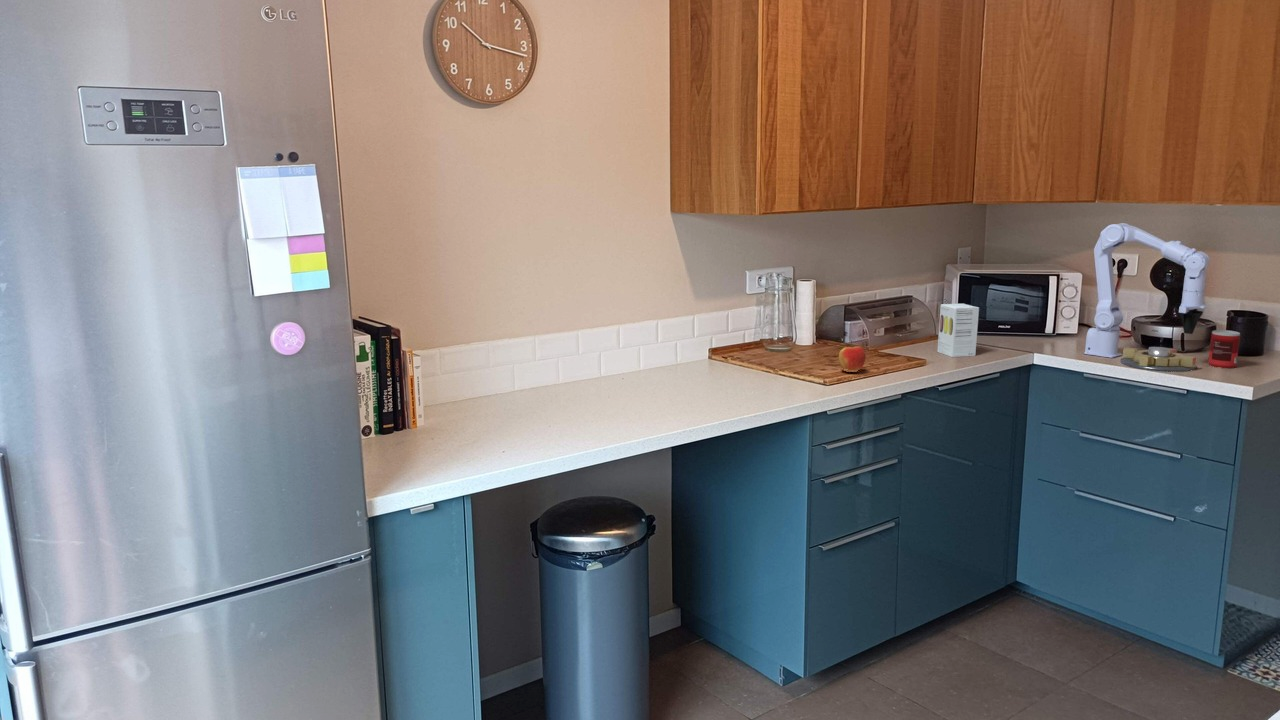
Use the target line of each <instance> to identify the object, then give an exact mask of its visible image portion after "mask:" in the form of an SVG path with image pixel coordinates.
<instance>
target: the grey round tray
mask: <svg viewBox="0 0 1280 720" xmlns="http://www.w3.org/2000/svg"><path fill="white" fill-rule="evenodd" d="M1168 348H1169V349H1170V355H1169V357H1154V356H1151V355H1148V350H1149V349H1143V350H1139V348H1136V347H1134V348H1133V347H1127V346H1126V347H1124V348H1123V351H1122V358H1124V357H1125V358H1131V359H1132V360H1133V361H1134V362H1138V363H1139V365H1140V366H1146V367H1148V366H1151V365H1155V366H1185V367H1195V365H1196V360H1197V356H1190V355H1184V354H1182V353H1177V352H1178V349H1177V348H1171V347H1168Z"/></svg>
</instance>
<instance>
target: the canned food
mask: <svg viewBox="0 0 1280 720" xmlns="http://www.w3.org/2000/svg"><path fill="white" fill-rule="evenodd" d="M1240 338H1241V333H1240V332H1238V331H1234V330H1227V329H1226V330H1225V329H1214V330H1212V331H1211V336H1210V342H1209V343H1210V345H1209V350H1208V353H1209V354H1208V360H1207V361H1208V362H1207V363H1208V365H1209V366H1210V365H1211V366H1210V367H1213V366H1214V368H1218V367H1222V368H1221V369H1234V368H1236V366H1237V364H1238V363H1237V362H1238V354H1239V347H1240V340H1241V339H1240Z"/></svg>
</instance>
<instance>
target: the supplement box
mask: <svg viewBox="0 0 1280 720" xmlns="http://www.w3.org/2000/svg"><path fill="white" fill-rule="evenodd" d="M939 311H940V313H939V323H938V324H939V325H938V337H937V338H938V339H937V353H939V354H942V355H945V356H948V357H951V358H959V357H975V356H976V353H977V352H976V349H977V339H978V326H979V313H980V307H978V306H975V305H974V306H973V305H971V304H966V303H943V304H940V309H939Z"/></svg>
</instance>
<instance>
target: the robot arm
mask: <svg viewBox="0 0 1280 720" xmlns="http://www.w3.org/2000/svg"><path fill="white" fill-rule="evenodd" d="M1099 235H1100V236H1099V237H1098V239H1097V242H1096V244H1095V246H1094V248H1093V254H1094V255H1093V256H1094V264H1095V265H1094V266H1095V277H1096V286H1097V295H1098V296H1097V297H1098V302H1097V305H1096V308H1095V311H1096V313H1095V315H1094V319H1093V321H1094V324H1095V327H1090V328H1089V329H1088V331H1087V332H1086V337H1085V339H1086V340H1085V346H1084V347H1085V348H1084V349H1085V350H1084V352H1083V354H1085V355H1090V356H1097V357H1105V358H1111V359H1112V358H1116V357H1119V356H1123V352H1122V353H1121V352H1119V341H1120V332H1121V328H1120V325H1121V324H1122V323H1123V321H1124V313H1123V312H1122V311H1121V307H1120V304H1119V302H1118V300H1117V296H1116V285H1115V284H1116V283H1115V276H1114V275H1115V274H1114V265H1113V254H1112V253H1113V252H1114V251H1115V250H1116V249H1117V248H1119V246H1120V245H1123V244H1124V243H1126V242H1138V243H1140V244H1143V245H1145V246H1148V247H1150V248H1153V249H1155V250H1157V251H1159V252H1160V253H1161V255H1162V258H1165V259H1166V260H1169V261H1171V262H1174V263H1176V264H1177V265H1180V266H1183V268H1184V269H1185V272H1184V273H1185V275H1184V279H1183V289H1182V296H1181V297H1182V298H1181V303H1180V306H1179V308H1178V314H1179V316H1180V318H1181V321H1182V328H1183V333H1184V334H1189V335H1192V334H1194V332H1195V329H1196V326H1197V324H1198V321H1199V319H1200V318H1201V317H1202V316H1203V313H1204V311H1203V309H1207V305H1205V302H1204V293H1205V286H1206V280H1207V279H1206V278H1207V277H1206V275H1207V268H1208V267H1209V265H1210V261H1211V260H1210V257H1209V256H1208V254H1206V253H1205V252H1204V251H1197V248H1195V247H1193V248H1190V247H1189V246H1186V245H1184V244H1182V241H1180V240H1176V241H1175V240H1170V241H1165V240H1163V239H1161V238H1159V237H1158V236H1155V235H1153V234H1151V233H1149V232H1148V231H1145V230H1143V229H1141V228H1139V227H1137V226H1134V225H1130V224H1128V223H1125V222H1122V223H1117V224H1116V223H1115V224H1114V223H1113V224H1109V225H1107V226H1106V227H1105V228H1104V229H1102V231H1101V232H1100V234H1099Z"/></svg>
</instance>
